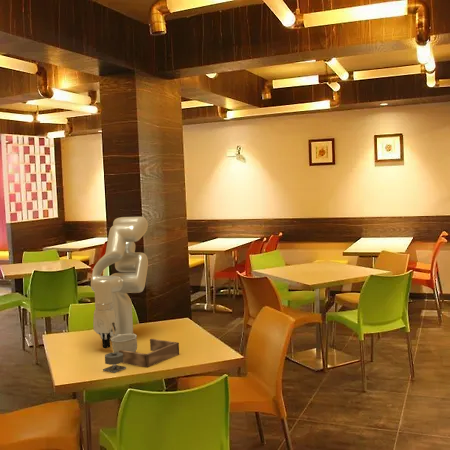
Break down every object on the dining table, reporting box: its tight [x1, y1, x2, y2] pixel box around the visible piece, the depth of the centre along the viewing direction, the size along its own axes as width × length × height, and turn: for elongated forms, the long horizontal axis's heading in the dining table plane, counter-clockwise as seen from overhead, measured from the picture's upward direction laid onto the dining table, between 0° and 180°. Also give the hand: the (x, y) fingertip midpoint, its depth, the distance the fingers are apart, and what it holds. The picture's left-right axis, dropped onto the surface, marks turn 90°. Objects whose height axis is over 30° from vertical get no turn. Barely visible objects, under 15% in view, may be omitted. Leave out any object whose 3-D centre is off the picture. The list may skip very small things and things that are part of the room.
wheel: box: [104, 352, 123, 366], centre depth 233 cm, size 7×7×3 cm
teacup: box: [110, 333, 138, 353], centre depth 255 cm, size 14×11×8 cm
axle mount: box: [102, 364, 127, 374], centre depth 234 cm, size 6×6×3 cm
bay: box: [119, 338, 180, 368], centre depth 247 cm, size 15×20×5 cm
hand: (106, 347), depth 261 cm, fingers closed
